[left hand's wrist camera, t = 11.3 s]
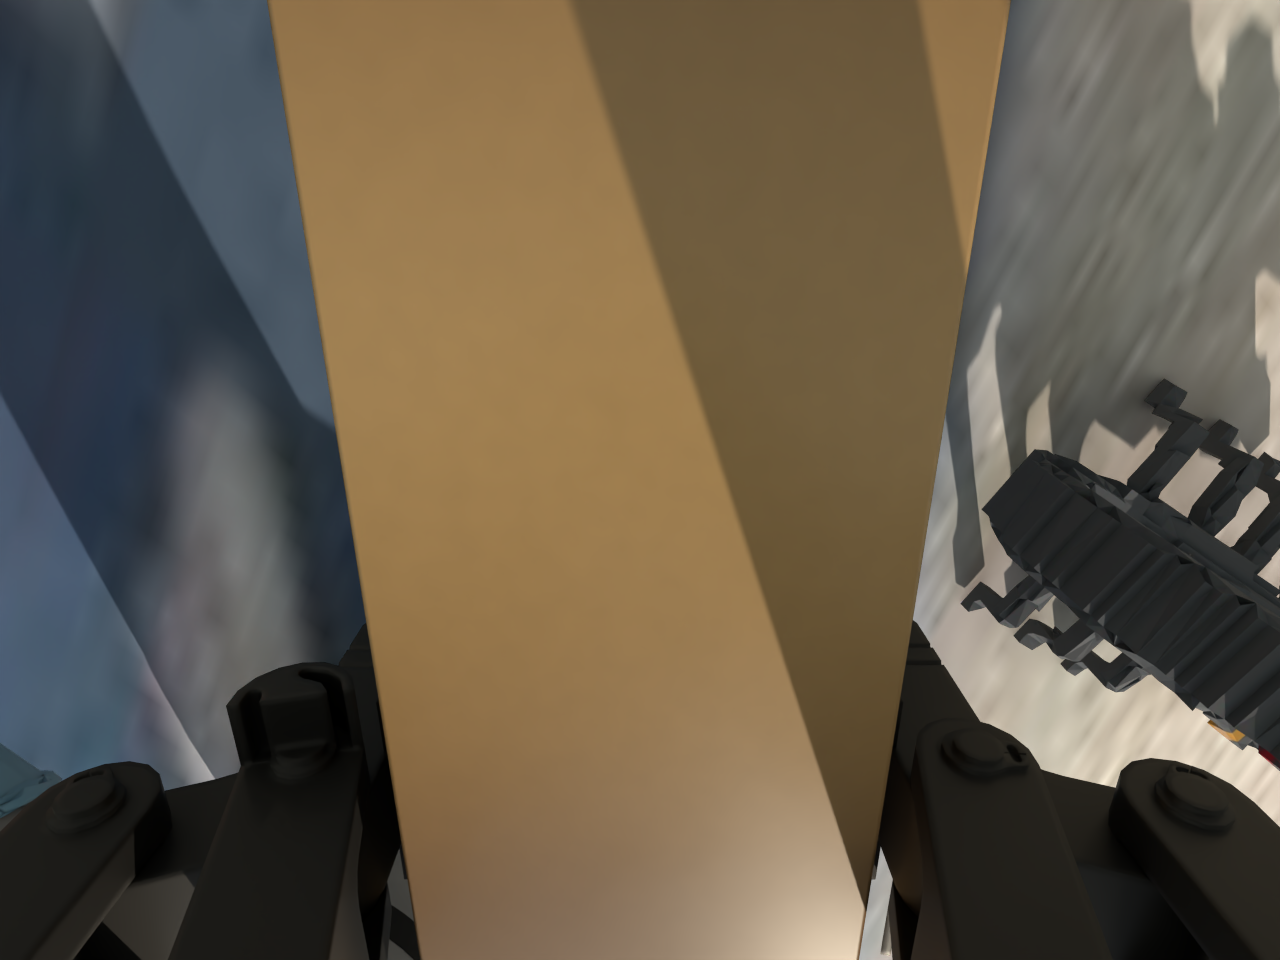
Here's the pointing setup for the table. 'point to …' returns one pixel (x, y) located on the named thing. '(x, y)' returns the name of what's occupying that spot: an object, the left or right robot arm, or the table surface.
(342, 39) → the beam
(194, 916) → the left robot arm
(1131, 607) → the toy
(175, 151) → the table surface
